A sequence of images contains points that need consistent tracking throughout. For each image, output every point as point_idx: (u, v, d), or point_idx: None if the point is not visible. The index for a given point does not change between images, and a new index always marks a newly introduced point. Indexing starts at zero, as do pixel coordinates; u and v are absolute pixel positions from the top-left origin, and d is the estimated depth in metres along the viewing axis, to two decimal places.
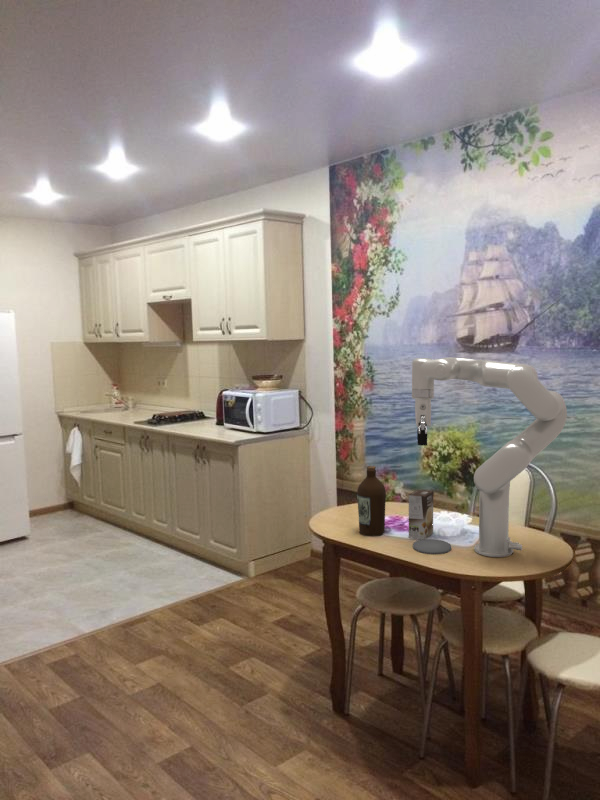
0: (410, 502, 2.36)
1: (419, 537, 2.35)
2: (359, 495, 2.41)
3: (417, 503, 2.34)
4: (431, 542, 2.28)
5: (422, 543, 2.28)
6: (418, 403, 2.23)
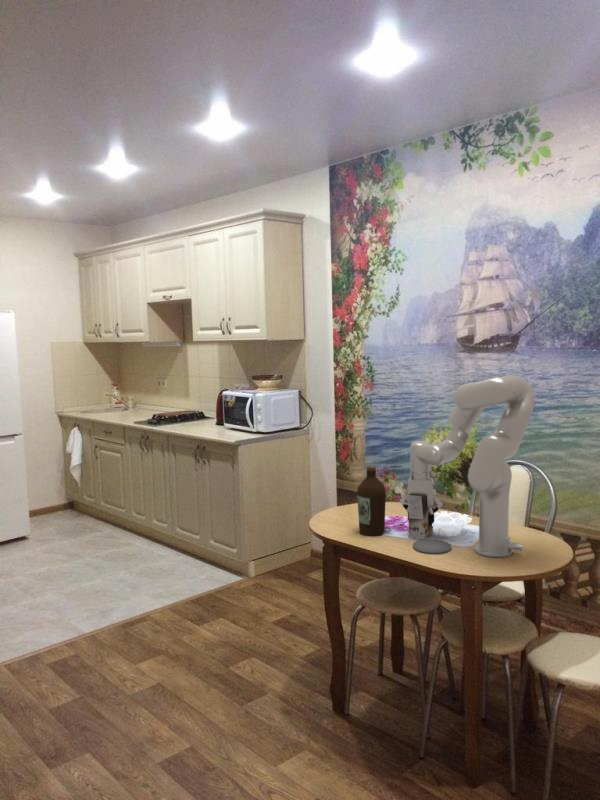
0: (410, 502, 2.36)
1: (419, 537, 2.35)
2: (359, 495, 2.41)
3: (417, 503, 2.34)
4: (431, 542, 2.28)
5: (422, 543, 2.28)
6: (431, 484, 2.34)
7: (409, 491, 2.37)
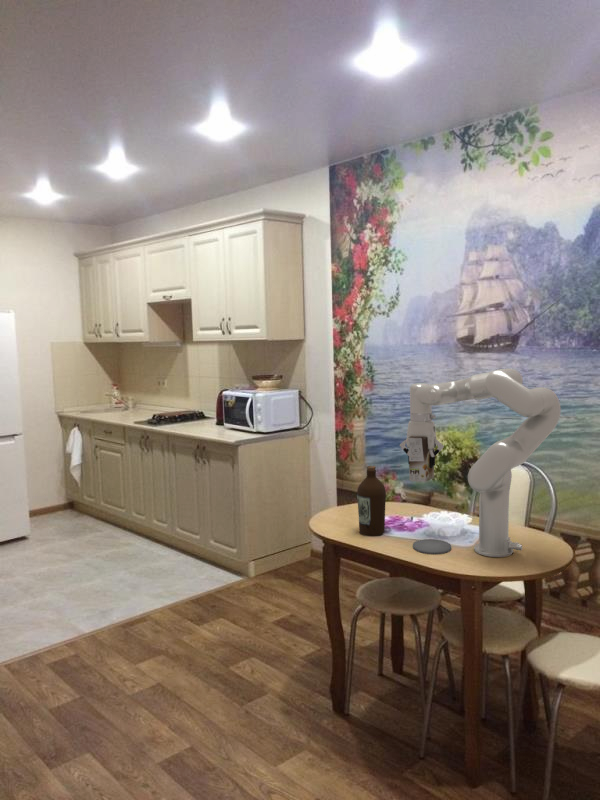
0: (410, 445, 2.33)
1: (420, 480, 2.33)
2: (359, 495, 2.41)
3: (417, 445, 2.32)
4: (431, 542, 2.28)
5: (422, 543, 2.28)
6: (432, 426, 2.32)
7: (409, 434, 2.35)
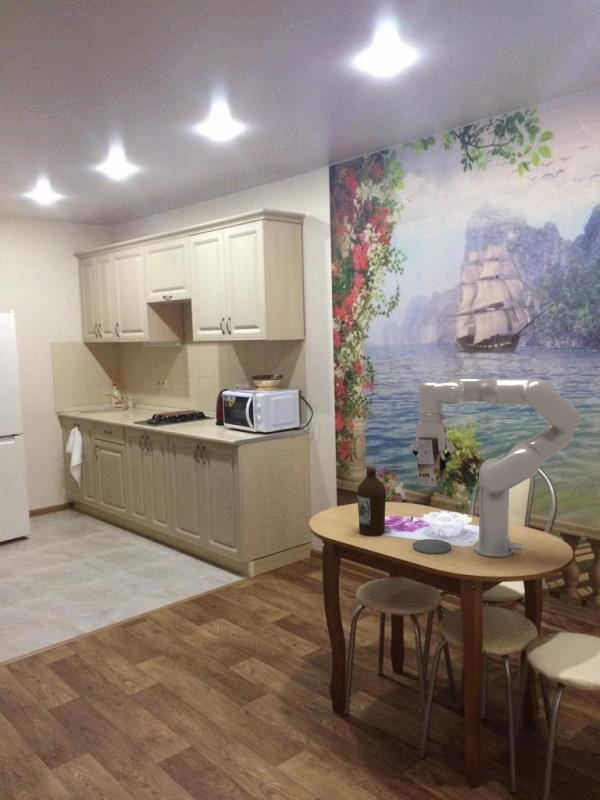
0: (420, 447, 2.20)
1: (430, 484, 2.20)
2: (359, 495, 2.41)
3: (427, 447, 2.19)
4: (431, 542, 2.28)
5: (422, 543, 2.28)
6: (442, 427, 2.19)
7: (419, 435, 2.22)
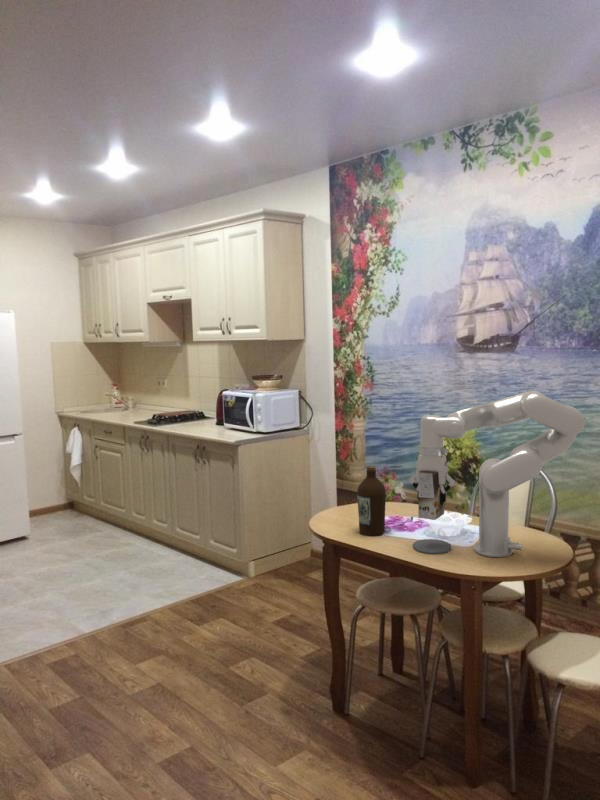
0: (420, 480, 2.21)
1: (430, 517, 2.20)
2: (359, 495, 2.41)
3: (428, 481, 2.19)
4: (431, 542, 2.28)
5: (422, 543, 2.28)
6: (443, 461, 2.19)
7: (419, 468, 2.22)
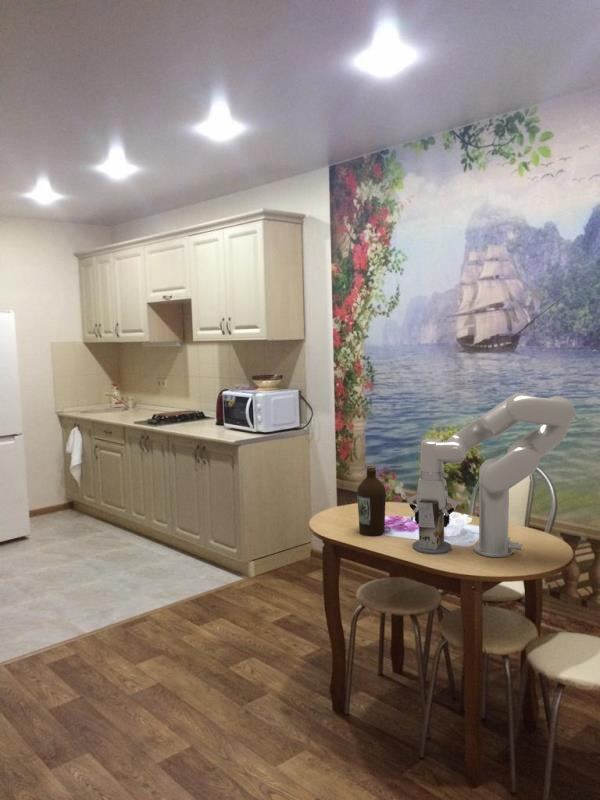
0: (420, 510, 2.22)
1: (430, 547, 2.21)
2: (359, 495, 2.41)
3: (428, 511, 2.21)
4: None
5: None
6: (443, 485, 2.20)
7: (419, 492, 2.23)
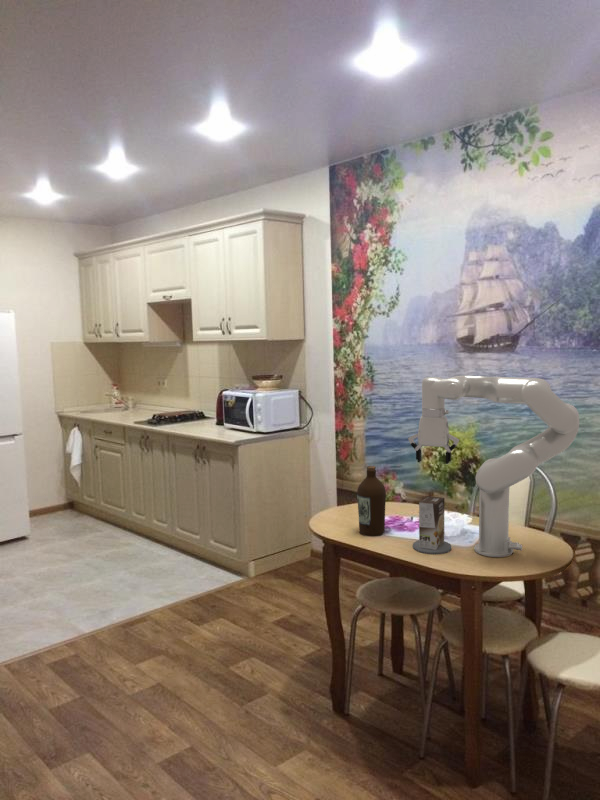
0: (421, 510, 2.22)
1: (430, 547, 2.21)
2: (359, 495, 2.41)
3: (428, 511, 2.20)
4: None
5: None
6: (445, 422, 2.22)
7: (421, 430, 2.24)
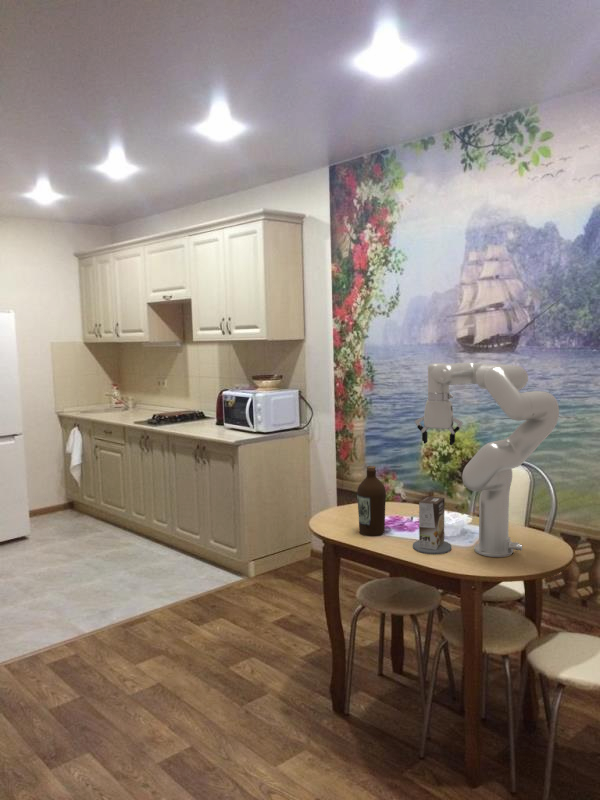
0: (421, 510, 2.22)
1: (430, 547, 2.21)
2: (359, 495, 2.41)
3: (428, 511, 2.20)
4: None
5: None
6: (449, 405, 2.35)
7: (427, 413, 2.38)
